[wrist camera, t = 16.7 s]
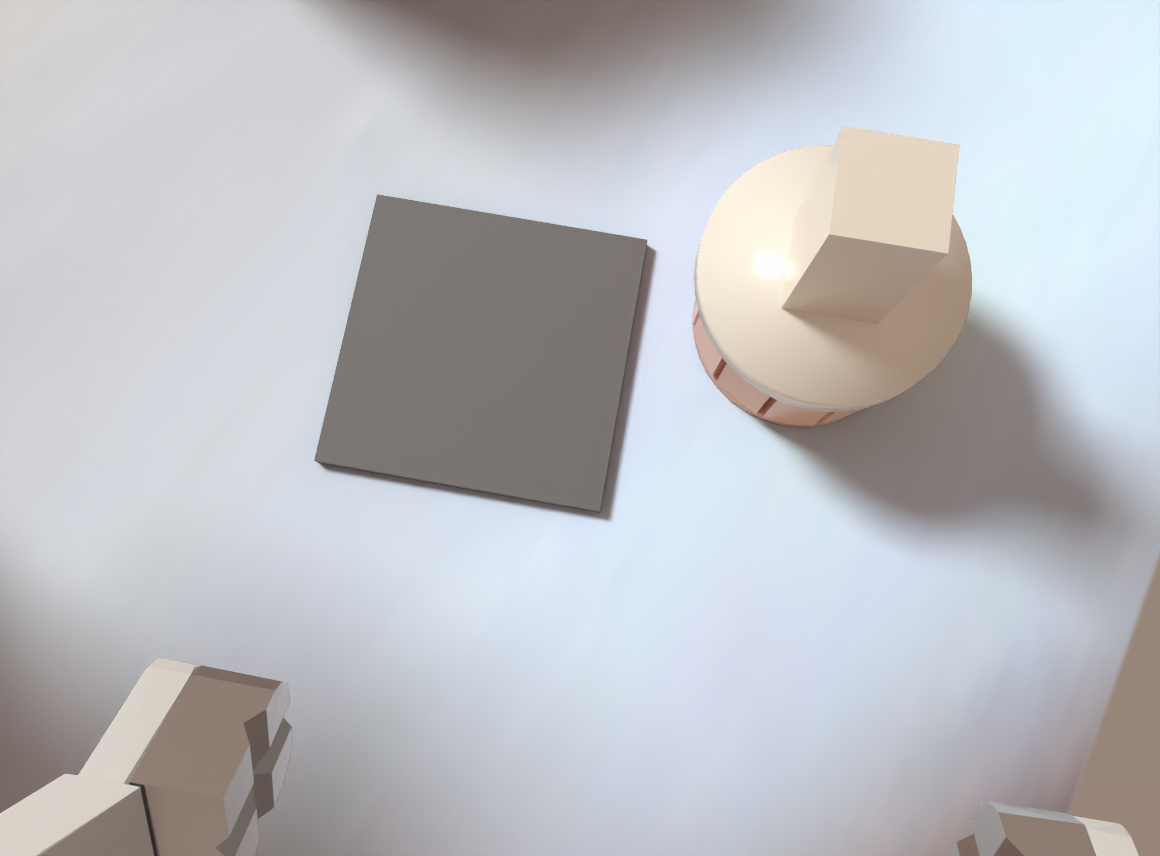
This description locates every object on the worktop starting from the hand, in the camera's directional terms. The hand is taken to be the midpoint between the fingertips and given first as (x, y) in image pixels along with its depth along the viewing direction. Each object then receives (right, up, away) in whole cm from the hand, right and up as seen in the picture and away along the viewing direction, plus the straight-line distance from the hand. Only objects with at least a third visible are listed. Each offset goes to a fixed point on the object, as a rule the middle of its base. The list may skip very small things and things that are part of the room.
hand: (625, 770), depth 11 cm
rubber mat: (-5, +7, +30) cm, 31 cm away
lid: (+9, +10, +25) cm, 28 cm away
